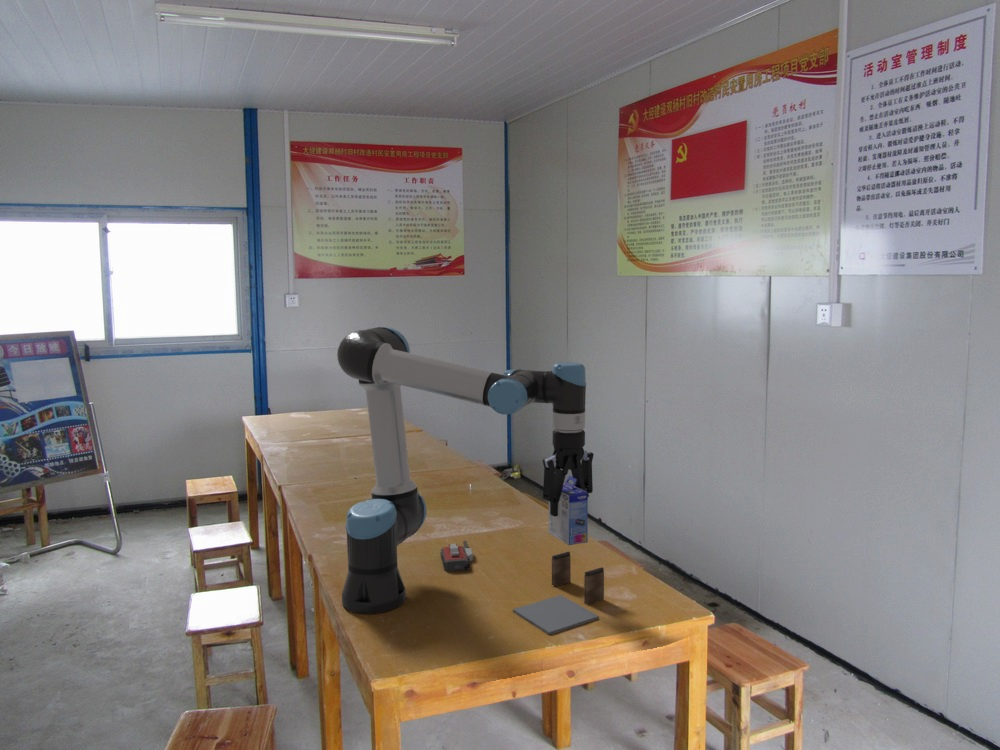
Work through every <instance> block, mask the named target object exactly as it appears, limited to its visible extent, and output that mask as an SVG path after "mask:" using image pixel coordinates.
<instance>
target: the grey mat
mask: <svg viewBox="0 0 1000 750" xmlns="http://www.w3.org/2000/svg"><path fill="white" fill-rule="evenodd" d="M512 612H513V613H514V614H515V615H517V616H519V617H520V618H522V619H524V620H525V621H527V622H528V623H530V624H531V625H533V626H534V627H536V628H537V629H539V630H540V631H543V632H544V633H545V634H547V635H549V636H550V635H553V634H556V633H560V632H562V631H565V630H568V629H571V628H574V626H575V627H578V626H581V625H583V623H584V624H587V623H590V622H592V620H593V621H596V620H599V619H600V616H599V615H598V614H597V613H596V614H595V613H594V612H592V611H591V610H589V609H587V608H585V607H583V606H582V605H580V604H578V603H576V602H574V601H573V600H571V599H569V598H568V597H565V596H564V595H562V594H560V595H556V596H552V597H550V598H545V599H543V600H539V601H536V602H533V603H529V604H525V605H523V606H520V607H519V606H518V607H516V608H513V609H512ZM598 618H599V619H598ZM595 619H596V620H595ZM589 621H590V622H589ZM586 622H587V623H586ZM580 624H581V625H580ZM577 625H578V626H577Z"/></svg>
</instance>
